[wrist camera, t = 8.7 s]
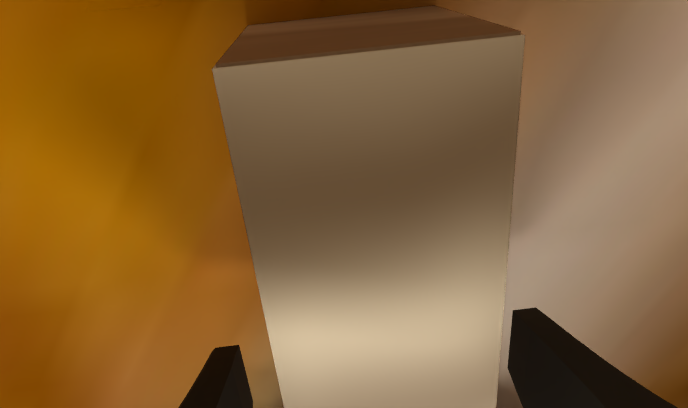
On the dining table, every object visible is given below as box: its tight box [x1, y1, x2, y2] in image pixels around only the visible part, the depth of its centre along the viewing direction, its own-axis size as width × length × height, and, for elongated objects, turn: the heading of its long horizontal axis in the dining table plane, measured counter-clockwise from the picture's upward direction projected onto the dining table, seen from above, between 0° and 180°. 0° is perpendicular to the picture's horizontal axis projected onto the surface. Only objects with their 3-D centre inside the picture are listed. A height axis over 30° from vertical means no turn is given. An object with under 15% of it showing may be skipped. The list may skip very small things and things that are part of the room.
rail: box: [212, 6, 525, 408], centre depth 13 cm, size 16×4×5 cm, turn 5°
